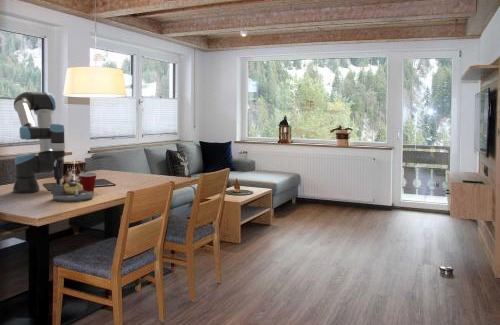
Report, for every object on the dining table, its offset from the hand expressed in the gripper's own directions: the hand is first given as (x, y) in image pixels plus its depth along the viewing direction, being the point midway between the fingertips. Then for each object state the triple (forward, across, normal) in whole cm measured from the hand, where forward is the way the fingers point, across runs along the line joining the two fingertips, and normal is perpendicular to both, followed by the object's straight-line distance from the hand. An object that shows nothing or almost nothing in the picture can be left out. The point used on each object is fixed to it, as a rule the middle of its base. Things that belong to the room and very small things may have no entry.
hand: (59, 189), depth 276 cm
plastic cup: (+5, -16, +13) cm, 21 cm away
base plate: (+5, +3, +9) cm, 10 cm away
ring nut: (+1, +4, +6) cm, 7 cm away
